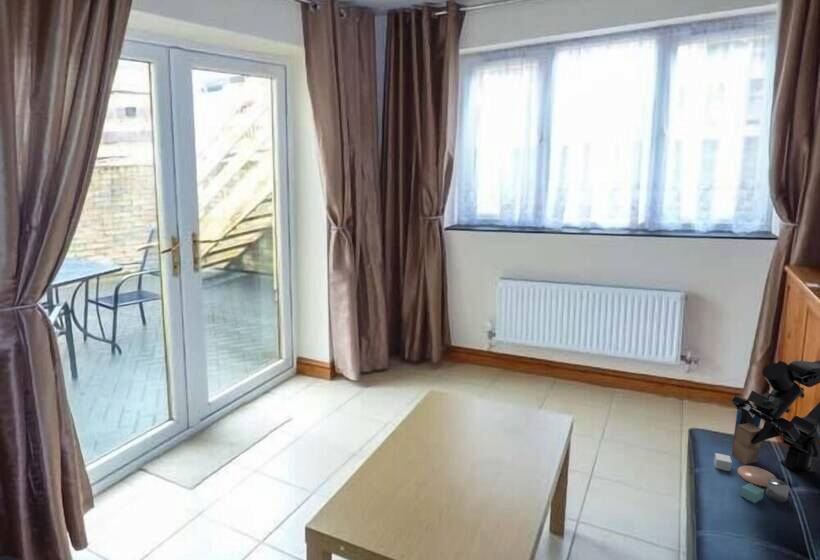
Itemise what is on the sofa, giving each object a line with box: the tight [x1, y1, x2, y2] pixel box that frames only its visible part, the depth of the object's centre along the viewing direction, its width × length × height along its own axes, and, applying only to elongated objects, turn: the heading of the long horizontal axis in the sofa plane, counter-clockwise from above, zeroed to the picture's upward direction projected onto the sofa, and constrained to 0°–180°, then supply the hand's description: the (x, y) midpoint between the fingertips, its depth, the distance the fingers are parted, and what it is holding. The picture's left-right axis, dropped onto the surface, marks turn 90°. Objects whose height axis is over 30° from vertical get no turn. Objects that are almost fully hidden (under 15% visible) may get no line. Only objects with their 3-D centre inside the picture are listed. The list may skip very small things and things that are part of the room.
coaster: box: [737, 465, 778, 488], centre depth 165 cm, size 10×10×1 cm
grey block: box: [713, 452, 733, 472], centre depth 170 cm, size 4×4×3 cm
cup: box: [732, 406, 762, 452], centre depth 176 cm, size 7×7×15 cm
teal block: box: [739, 482, 765, 504], centre depth 155 cm, size 4×4×3 cm
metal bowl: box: [765, 478, 791, 503], centre depth 155 cm, size 5×5×4 cm
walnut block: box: [731, 423, 762, 465], centre depth 161 cm, size 4×4×10 cm
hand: (744, 438), depth 160 cm, fingers closed on walnut block, 4 cm apart
